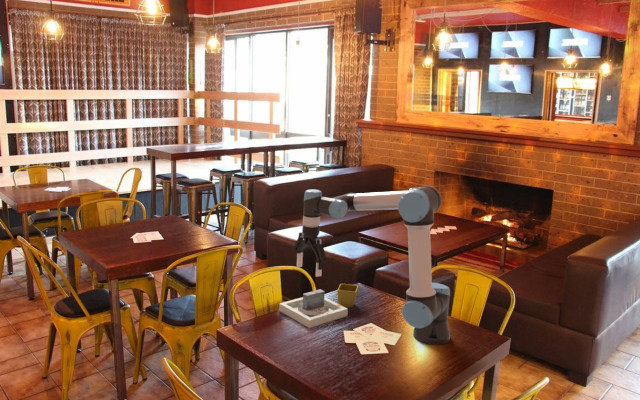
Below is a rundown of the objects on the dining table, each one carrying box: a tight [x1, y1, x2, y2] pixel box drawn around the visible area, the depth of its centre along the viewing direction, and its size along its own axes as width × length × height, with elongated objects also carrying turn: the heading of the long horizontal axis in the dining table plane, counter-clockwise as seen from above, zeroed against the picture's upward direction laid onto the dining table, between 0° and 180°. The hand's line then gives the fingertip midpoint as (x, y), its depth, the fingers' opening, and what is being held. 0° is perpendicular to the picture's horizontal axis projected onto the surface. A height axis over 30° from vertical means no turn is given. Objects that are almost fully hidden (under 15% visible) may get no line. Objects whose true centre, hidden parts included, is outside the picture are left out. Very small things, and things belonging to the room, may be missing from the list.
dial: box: [298, 288, 329, 317], centre depth 256 cm, size 14×14×8 cm
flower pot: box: [337, 283, 359, 309], centre depth 267 cm, size 9×9×9 cm
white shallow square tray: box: [278, 296, 349, 329], centre depth 257 cm, size 22×22×4 cm
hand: (308, 271), depth 251 cm, fingers open, 13 cm apart
